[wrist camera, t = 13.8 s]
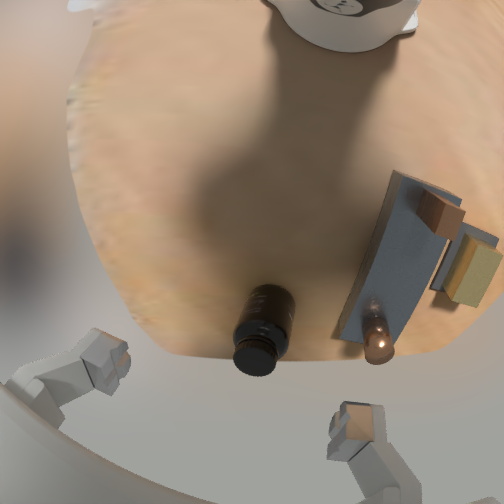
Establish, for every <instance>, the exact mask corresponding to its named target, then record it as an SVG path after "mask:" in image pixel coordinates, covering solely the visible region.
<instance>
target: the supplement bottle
mask: <svg viewBox="0 0 504 504" xmlns="http://www.w3.org/2000/svg"><path fill="white" fill-rule="evenodd" d="M294 313H295V302H294V299H293V297H292V296H291V294H290V293H289V292H288V291H286V290H285V289H284V288H282V287H279V286H276V285H263V286H260V287H258V288H256V289H255V290H253V291H252V293H251V294H250V296H249V297H248V300H247V302H246V304H245V306H244V309H243V311H242V313H241V316H240V318H239V320H238V323H237V325H236V327H235V330H234V333H233V341H234V345H235V347H236V348H235V352H234V355H233V360H234V363H235V365H236V367H237V368H238V369H239V370H240V371H242V372H243V373H245V374H248V375H251V376H257V377H258V376H266V375H268V374H270V373H271V372H272V371H273V370H274V368H275V366H276V362H277V360H278V359H280V358H281V357H282V356H283V355H284V354H285V353H286V351H287V349H288V346H289V342H290V336H291V331H292V325H293V319H294Z"/></svg>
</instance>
